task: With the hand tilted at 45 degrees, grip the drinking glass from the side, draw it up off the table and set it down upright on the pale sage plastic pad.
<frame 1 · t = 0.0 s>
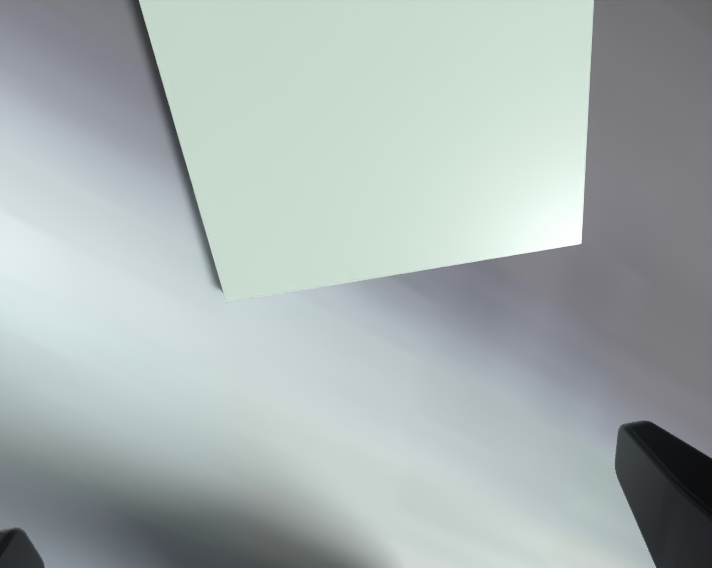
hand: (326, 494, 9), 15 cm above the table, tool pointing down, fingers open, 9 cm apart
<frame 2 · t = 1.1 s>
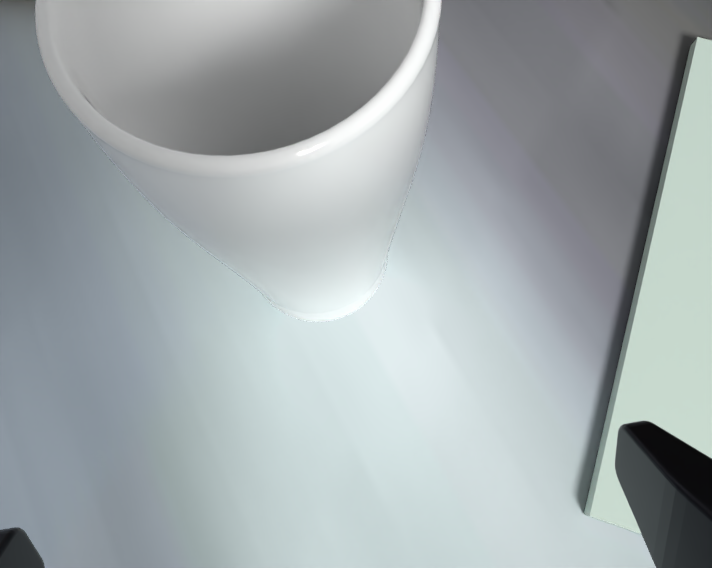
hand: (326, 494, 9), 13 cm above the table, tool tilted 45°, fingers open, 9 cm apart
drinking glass: (320, 261, 24), on the table
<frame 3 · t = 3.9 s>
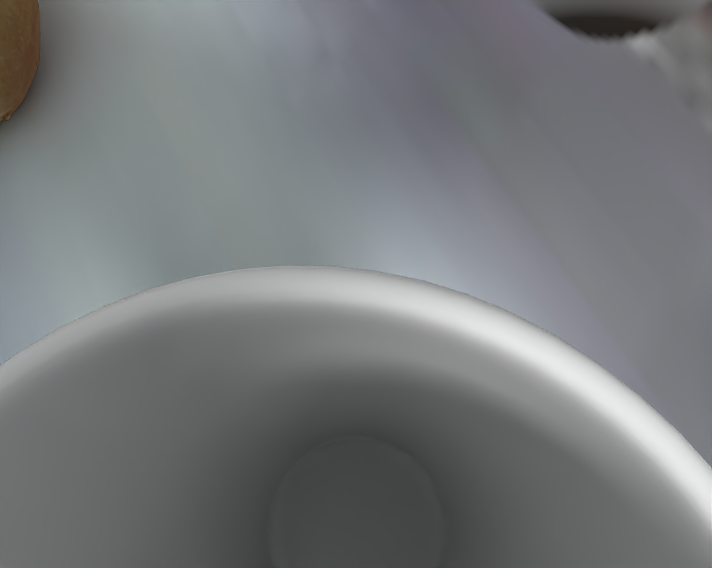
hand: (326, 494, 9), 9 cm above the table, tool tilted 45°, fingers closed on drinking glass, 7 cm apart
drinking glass: (359, 519, 18), on the table, touching gripper
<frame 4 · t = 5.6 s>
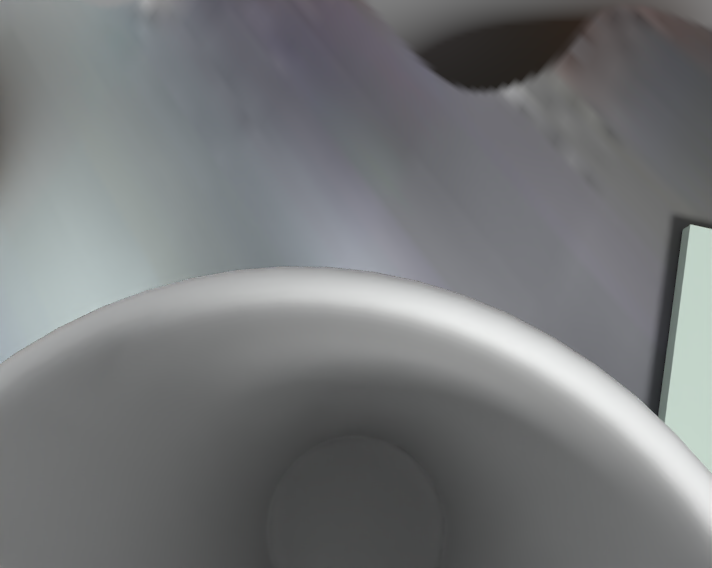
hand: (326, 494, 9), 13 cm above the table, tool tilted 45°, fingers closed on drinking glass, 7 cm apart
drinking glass: (358, 518, 18), point 4 cm above the table, touching gripper
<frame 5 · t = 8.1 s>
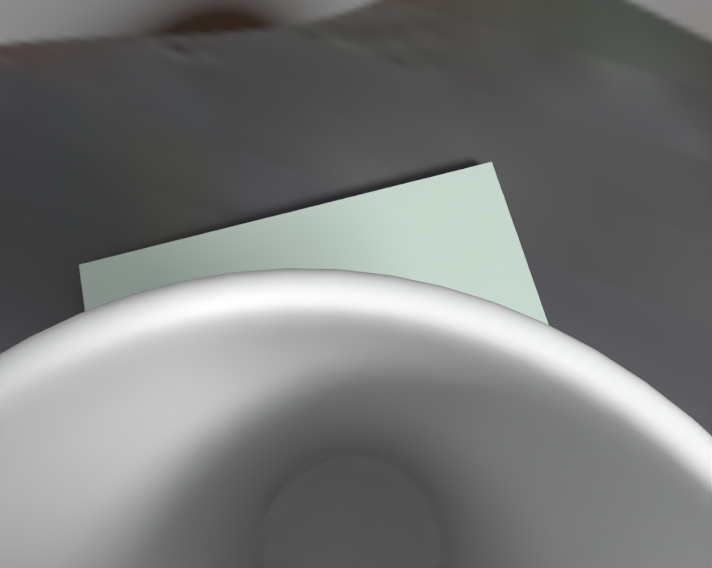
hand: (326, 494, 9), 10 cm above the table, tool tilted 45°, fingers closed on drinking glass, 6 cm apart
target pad: (363, 525, 18), on the table
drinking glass: (354, 537, 17), resting on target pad, touching gripper
when the fingers open (9 cm above the table, at t = 9.0 s): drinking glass stays where it is, resting on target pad.
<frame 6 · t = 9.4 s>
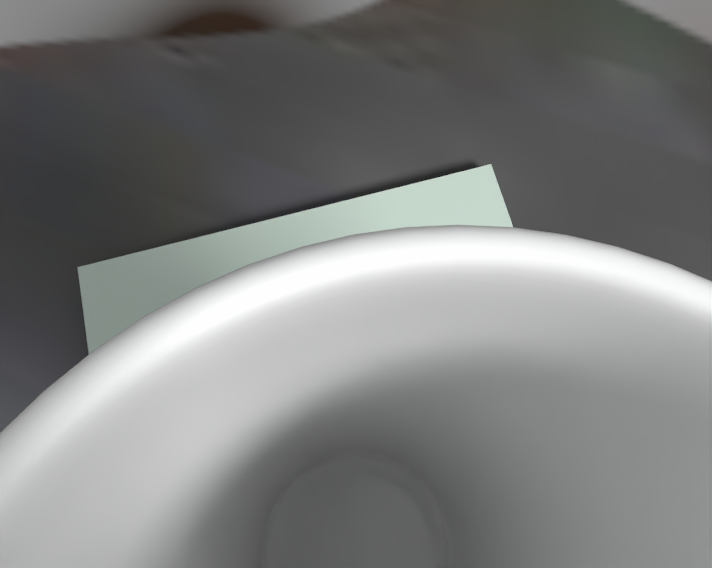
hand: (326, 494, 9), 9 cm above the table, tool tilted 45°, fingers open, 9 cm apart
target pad: (362, 529, 18), on the table
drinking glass: (352, 542, 17), point 1 cm above the table, touching gripper, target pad
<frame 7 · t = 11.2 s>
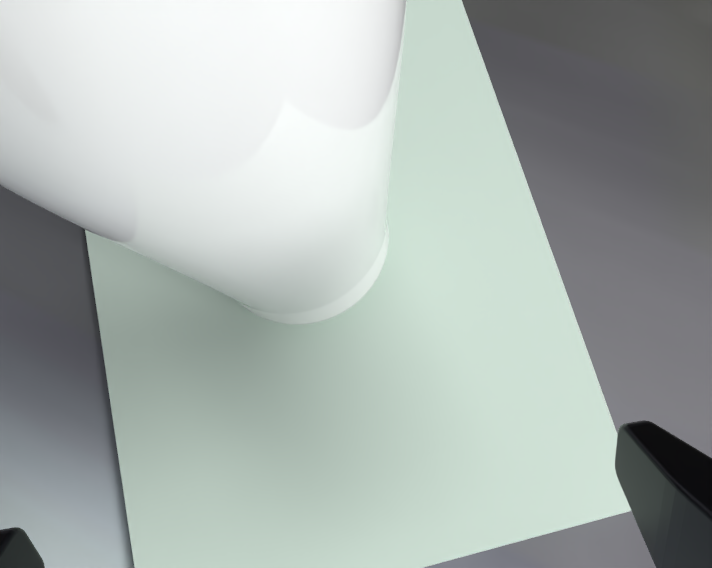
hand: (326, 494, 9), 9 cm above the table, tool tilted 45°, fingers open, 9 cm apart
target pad: (315, 243, 20), on the table
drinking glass: (305, 246, 19), point 1 cm above the table, touching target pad
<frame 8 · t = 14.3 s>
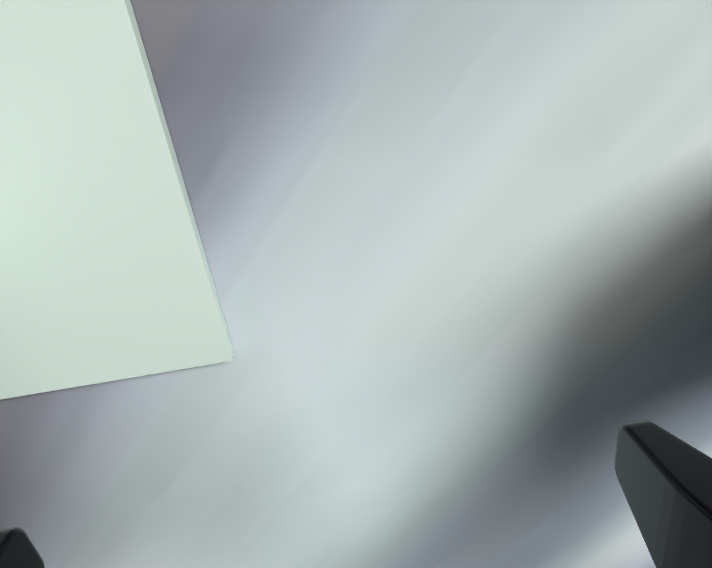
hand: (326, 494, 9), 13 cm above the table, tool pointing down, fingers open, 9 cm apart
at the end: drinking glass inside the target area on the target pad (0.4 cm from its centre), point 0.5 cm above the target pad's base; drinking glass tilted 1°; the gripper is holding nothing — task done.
